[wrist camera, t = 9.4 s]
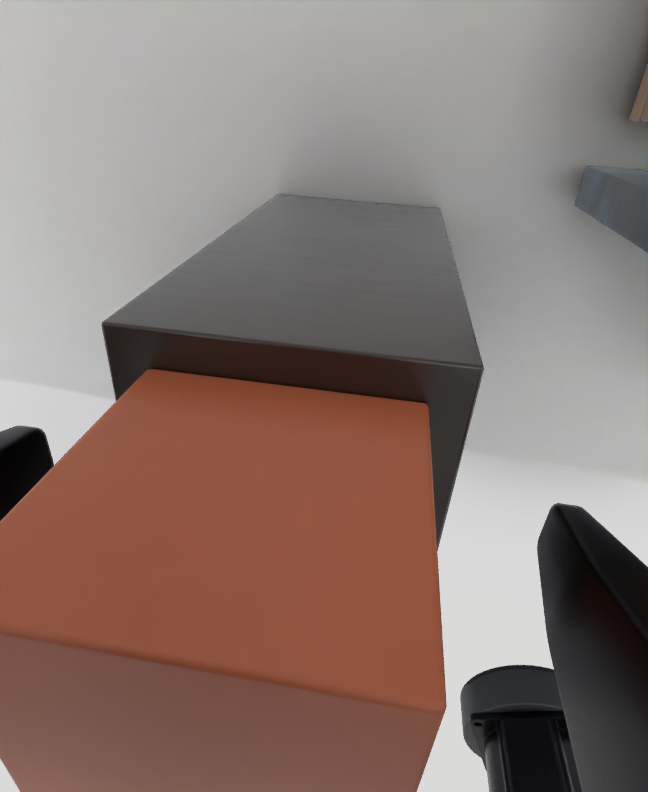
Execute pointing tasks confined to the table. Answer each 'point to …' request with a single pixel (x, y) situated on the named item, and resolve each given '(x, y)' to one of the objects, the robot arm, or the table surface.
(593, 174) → the drawer
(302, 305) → the pedestal
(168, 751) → the block
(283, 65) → the table surface
